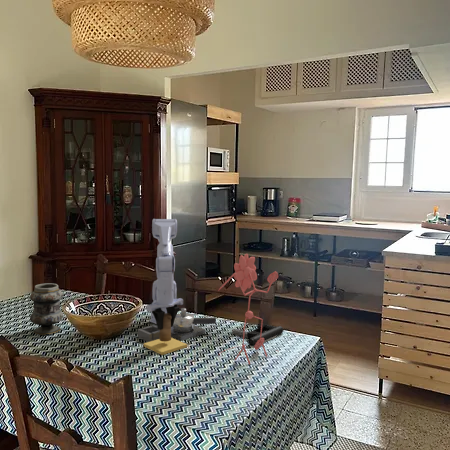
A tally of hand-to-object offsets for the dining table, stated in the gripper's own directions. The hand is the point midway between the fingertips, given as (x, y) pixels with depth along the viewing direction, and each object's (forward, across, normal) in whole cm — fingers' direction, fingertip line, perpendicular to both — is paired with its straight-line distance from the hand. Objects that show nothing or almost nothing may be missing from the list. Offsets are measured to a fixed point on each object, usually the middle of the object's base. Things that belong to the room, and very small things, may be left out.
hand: (165, 327), depth 160 cm
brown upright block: (+4, 0, 0) cm, 4 cm away
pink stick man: (+7, +15, -24) cm, 29 cm away
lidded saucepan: (+5, +17, +4) cm, 19 cm away
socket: (+7, +2, +11) cm, 13 cm away
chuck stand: (+7, +14, +7) cm, 17 cm away
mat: (+7, 0, 0) cm, 7 cm away
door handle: (+8, +32, -14) cm, 36 cm away
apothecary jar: (+7, -24, +44) cm, 51 cm away
